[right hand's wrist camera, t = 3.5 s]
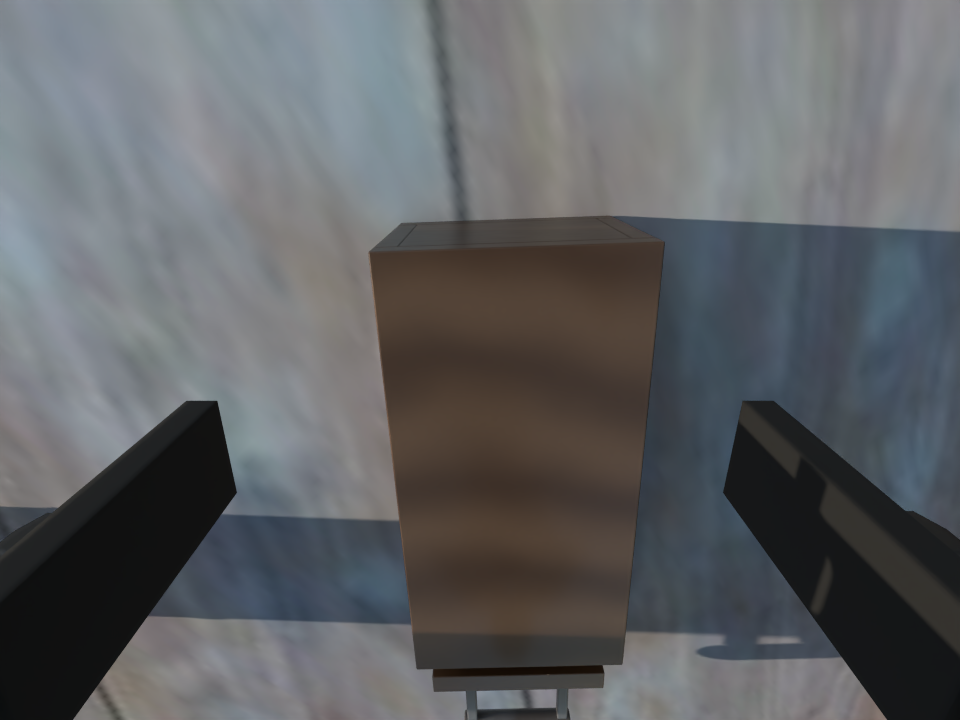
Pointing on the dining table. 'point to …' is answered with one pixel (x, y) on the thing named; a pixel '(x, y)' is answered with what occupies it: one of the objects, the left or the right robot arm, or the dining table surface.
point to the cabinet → (517, 431)
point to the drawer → (518, 687)
